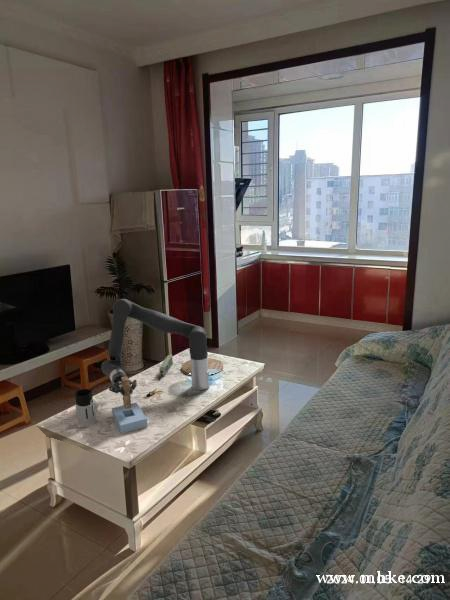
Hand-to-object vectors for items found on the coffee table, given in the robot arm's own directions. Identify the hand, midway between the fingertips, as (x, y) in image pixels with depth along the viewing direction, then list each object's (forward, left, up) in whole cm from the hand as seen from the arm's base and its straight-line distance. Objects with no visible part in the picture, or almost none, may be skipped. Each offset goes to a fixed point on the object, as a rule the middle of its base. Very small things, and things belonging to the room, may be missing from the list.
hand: (127, 392), depth 196 cm
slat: (+1, -3, -8) cm, 9 cm away
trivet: (-31, -63, -16) cm, 72 cm away
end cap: (+1, -3, -16) cm, 16 cm away
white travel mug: (+19, -2, -16) cm, 25 cm away
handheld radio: (-9, -59, -16) cm, 62 cm away
